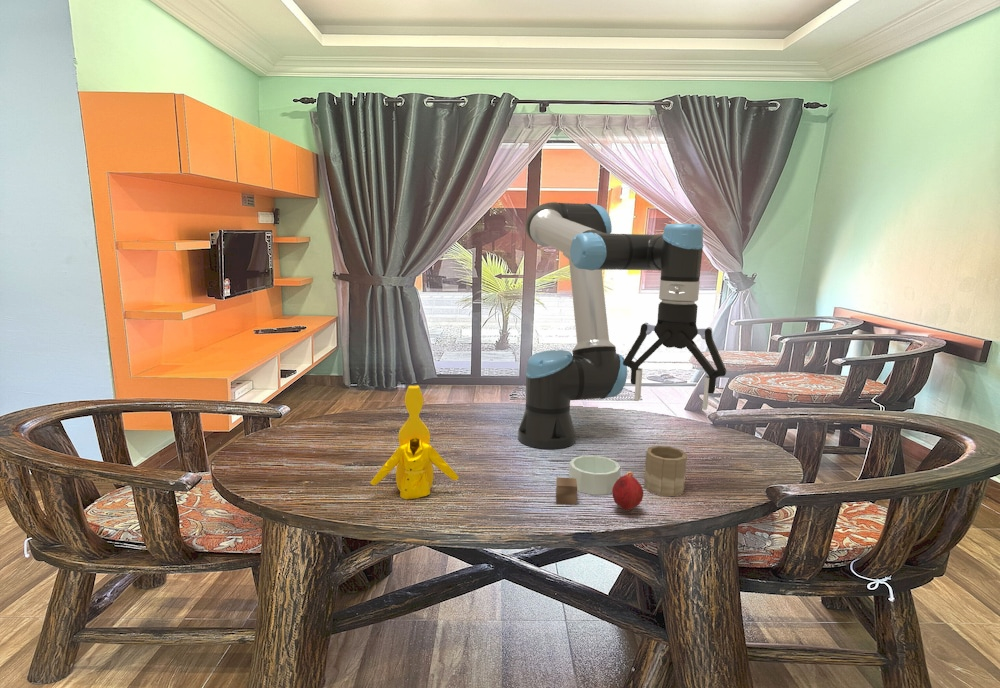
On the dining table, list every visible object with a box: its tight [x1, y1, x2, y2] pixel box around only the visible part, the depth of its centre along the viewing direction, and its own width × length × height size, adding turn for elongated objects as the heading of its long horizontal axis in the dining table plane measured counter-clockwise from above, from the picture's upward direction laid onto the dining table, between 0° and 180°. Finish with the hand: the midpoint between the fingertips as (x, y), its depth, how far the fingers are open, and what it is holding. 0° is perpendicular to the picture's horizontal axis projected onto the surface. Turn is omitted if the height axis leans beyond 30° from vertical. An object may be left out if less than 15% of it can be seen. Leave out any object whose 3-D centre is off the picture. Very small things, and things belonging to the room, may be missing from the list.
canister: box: [643, 445, 688, 497], centre depth 118 cm, size 8×8×8 cm
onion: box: [611, 471, 644, 512], centre depth 108 cm, size 6×6×8 cm
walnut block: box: [555, 476, 578, 506], centre depth 112 cm, size 4×4×4 cm
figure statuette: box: [369, 384, 460, 500], centre depth 113 cm, size 18×8×22 cm, turn 100°
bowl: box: [568, 455, 621, 496], centre depth 120 cm, size 10×10×4 cm
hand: (670, 403), depth 116 cm, fingers open, 13 cm apart
